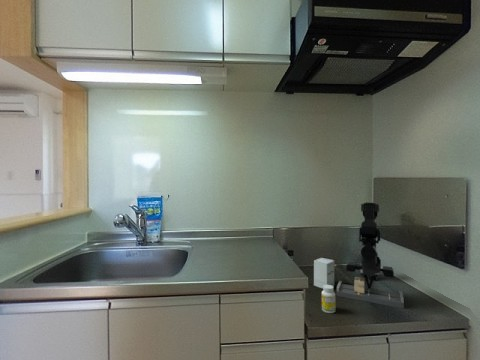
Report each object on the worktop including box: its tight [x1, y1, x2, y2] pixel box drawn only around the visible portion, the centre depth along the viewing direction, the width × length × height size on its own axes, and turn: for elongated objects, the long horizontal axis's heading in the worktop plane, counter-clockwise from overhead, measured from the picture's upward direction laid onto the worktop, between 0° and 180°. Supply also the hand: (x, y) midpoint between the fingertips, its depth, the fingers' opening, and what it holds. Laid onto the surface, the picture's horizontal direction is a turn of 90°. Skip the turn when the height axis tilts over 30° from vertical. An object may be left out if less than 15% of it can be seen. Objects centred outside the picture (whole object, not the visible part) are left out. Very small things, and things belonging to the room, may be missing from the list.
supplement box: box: [313, 257, 335, 289], centre depth 131 cm, size 7×7×13 cm
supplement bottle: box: [321, 285, 336, 314], centre depth 107 cm, size 5×5×10 cm
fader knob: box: [353, 276, 366, 293], centre depth 120 cm, size 5×4×5 cm
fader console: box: [335, 280, 405, 309], centre depth 118 cm, size 10×26×4 cm, turn 62°
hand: (369, 288), depth 118 cm, fingers closed
